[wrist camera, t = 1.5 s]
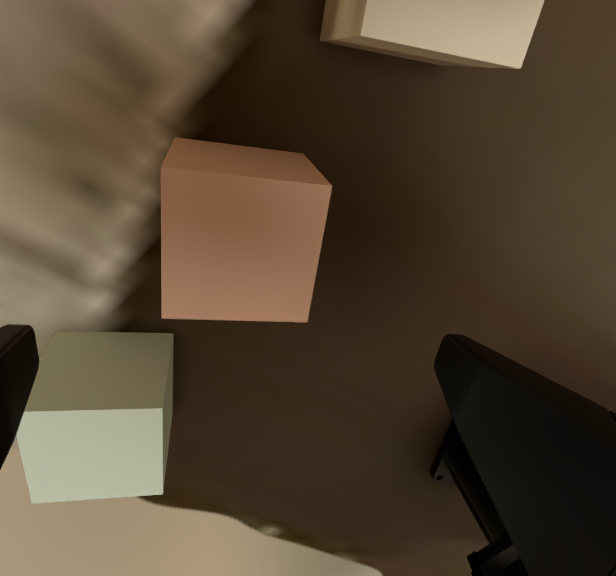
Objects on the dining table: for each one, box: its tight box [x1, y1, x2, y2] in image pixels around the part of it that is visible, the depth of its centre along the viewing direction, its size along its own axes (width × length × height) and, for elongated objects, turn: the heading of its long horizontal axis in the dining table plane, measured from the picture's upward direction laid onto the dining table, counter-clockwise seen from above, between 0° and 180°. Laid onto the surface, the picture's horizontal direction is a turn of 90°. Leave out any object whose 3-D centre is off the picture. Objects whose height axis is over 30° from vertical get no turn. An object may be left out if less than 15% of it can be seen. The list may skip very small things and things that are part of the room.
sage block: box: [16, 331, 173, 504], centre depth 18 cm, size 5×5×5 cm
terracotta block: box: [161, 137, 332, 322], centre depth 15 cm, size 5×5×5 cm
